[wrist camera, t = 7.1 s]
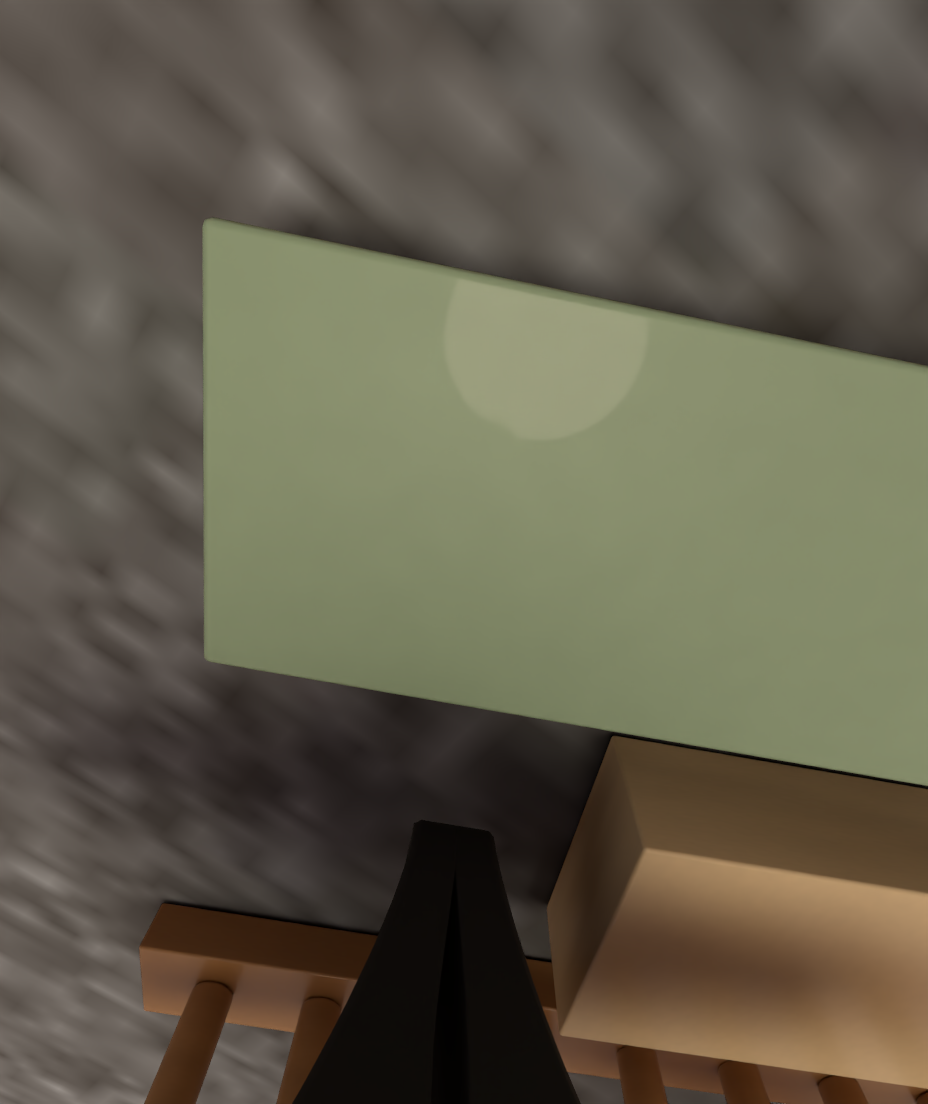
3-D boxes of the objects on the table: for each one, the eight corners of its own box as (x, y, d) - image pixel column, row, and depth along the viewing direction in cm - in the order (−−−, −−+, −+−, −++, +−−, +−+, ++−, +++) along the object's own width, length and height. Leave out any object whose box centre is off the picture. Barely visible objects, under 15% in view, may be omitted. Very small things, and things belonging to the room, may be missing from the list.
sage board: (1063, 721, 10) (1223, 840, 8) (266, 577, 9) (200, 663, 7) (1284, 445, 8) (1584, 502, 6) (283, 236, 7) (198, 214, 5)
